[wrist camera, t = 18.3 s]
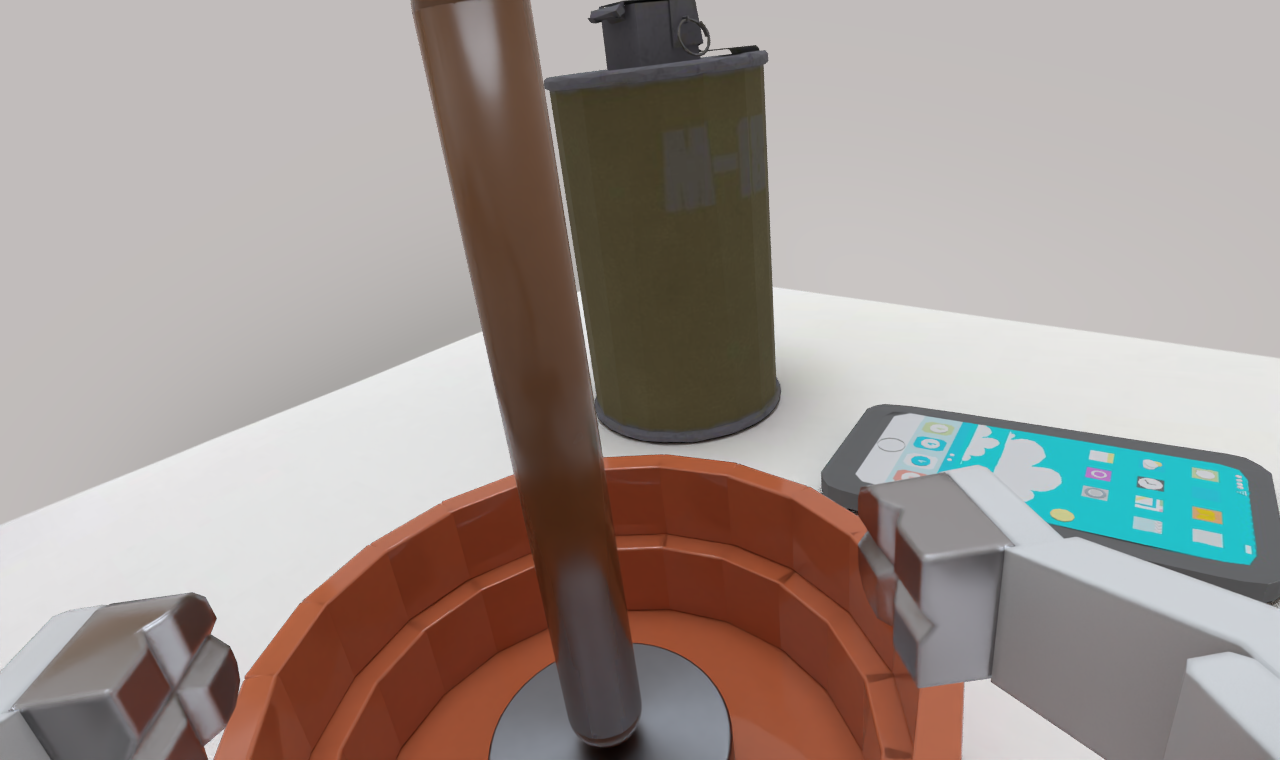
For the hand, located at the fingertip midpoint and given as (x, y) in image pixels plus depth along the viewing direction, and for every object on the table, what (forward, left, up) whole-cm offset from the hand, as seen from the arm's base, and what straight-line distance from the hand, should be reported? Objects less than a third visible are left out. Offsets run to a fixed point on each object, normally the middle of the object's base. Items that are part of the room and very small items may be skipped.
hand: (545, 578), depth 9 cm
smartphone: (+22, +7, -12) cm, 26 cm away
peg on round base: (+2, +5, -11) cm, 12 cm away
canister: (+17, +24, -12) cm, 32 cm away
